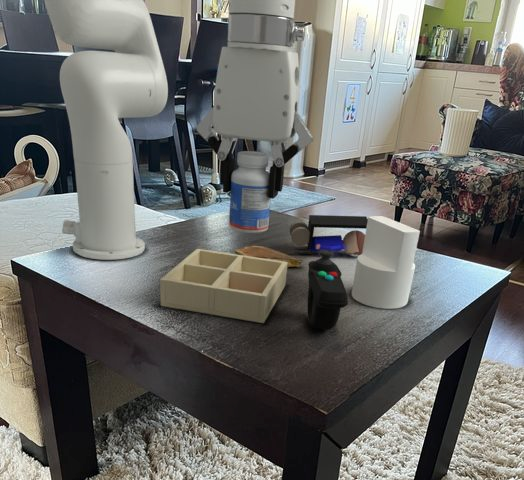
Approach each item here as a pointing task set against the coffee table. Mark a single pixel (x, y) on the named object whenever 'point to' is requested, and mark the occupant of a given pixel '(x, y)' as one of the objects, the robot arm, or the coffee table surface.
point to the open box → (224, 285)
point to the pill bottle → (250, 193)
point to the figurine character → (350, 242)
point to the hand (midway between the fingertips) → (250, 192)
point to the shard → (268, 255)
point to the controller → (325, 292)
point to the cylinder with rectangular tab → (385, 264)
